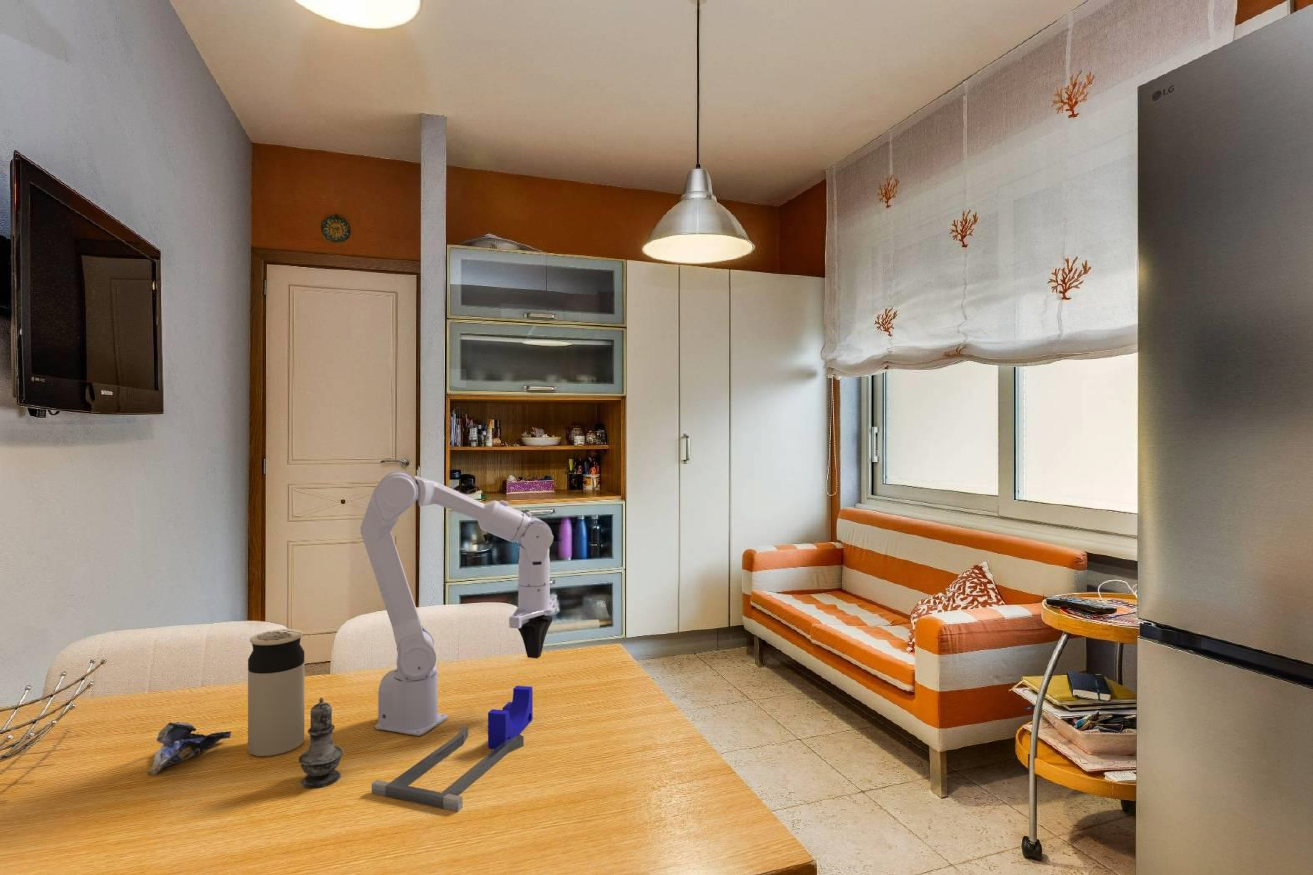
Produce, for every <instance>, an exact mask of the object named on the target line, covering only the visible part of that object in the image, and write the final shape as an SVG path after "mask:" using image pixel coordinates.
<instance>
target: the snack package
mask: <svg viewBox="0 0 1313 875" xmlns="http://www.w3.org/2000/svg"><path fill="white" fill-rule="evenodd" d="M166 724H167V725H165V726H164V727H163V728H162V729H161V730H160V731H159V732H158V734H157V738H156V742H158V743H159V744H163V745H162V746H160V749H158V750H157V751H156V754H155V756H154V758H153V764H152V765H151V766H150V769H149V770H148V771H147V773H148V774H151V775H152V774H153V775H156V774H159V772H160V771H161V770H162V769H164V768H167V767H170V766H172V765H175V764H177V763H180V762H182V761H184V760H188V759H190V758H193V757H195V756H198V755H201V754H202V753H204V752H205V751H207V750H208V749H209V748H210V747H212V746H213V745H215V744H216V743H218V742H219V741H220V740H223V739H230V738H231V736H232V731H219V732H213V733H210V734H207V735H205V734H204V733H203V734H202V733H201V734H200V733H199V732H198V731H197V728H196V727H194V725H193V724H191V723H188V722H179V721H177V722H168V723H166ZM196 731H197V732H196ZM192 732H196V733H192ZM161 763H162V764H161ZM156 767H157V768H156ZM153 768H154V769H153ZM155 768H156V769H155ZM153 775H152V776H153Z"/></svg>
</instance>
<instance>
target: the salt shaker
mask: <svg viewBox="0 0 1313 875" xmlns="http://www.w3.org/2000/svg"><path fill="white" fill-rule="evenodd" d="M324 700H325V699H323V697H320V698H319V699H318V702H317V703H316V704H315V705H313V706H312V707H311V709H310V727H309V728H308V729H307V734H309V746H308V750H307V751H305V752H303V753H301V755H299V758H298V762H299V763H300V767H301V770H302V772H303V773H305V774H306V775H305V776H304V777H303V778H302V780H300V785H301V786H302V788H305V789H311V790H312V789H314V790H315V789H321V788H327V787H329V786H331V785H333V784H335V783H337V782H338V781H339V780H340V779H341V778H342V774H341V772H340V771H339V770H337V768H338V766H339V765H340V762H341V759H342V756H343V754H344V749H343V748H342V747H340V746H338V745H334V742H333V730H334V729H335V727H336V726H335V725H334V724H332V723H333V719H332V718H333V716H332V715H333V707H332V705H331V704H330V703H328V702H325V701H324Z"/></svg>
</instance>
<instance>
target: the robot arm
mask: <svg viewBox="0 0 1313 875" xmlns="http://www.w3.org/2000/svg"><path fill="white" fill-rule="evenodd" d="M416 501H417V504H418V506H419V507H424V506H430V505H438V506H440V507H443V508H445V509H448V510H451V511H454V512H457V513H459V514H462V515H463V516H467V517H469V518H471V519H475V520H476V521H477V523H478V526H479V528H480V530H482V531H483V532H486V533H489V534H491V535H493V536H496V537H498V538H501V539H502V540H503V539H504V540H505V541H508V542H510V543H518V544H519V548H518V549H519V551H518V552H519V553H518V554H519V556H518V588H517V589H518V590H517V591H518V597H517V598H518V601H517V602H518V606H517V608H516V609H515V611H514V612H513V614H512V615H510V616H509V617H508V618H509V619H508V628H510V629H517V630H518V632H519V633H520V636H521V638H522V641H523V645H524V649H525V653H526V656H527V658H528V659H536V660H537V659H539V658H541V657H542V653H543V649H544V648H543V647H544V643H545V639H546V637H547V636H546V635H547V634H548V633H547V632H548V631H549V628H550V627H551V624H552V623H553V616H552V615H551V614H553V613H555V612H556V609H557V602H558V601H557V598H552V597H551V596H550V595H551V593H550V592H551V591H550V589H551V587H550V585H551V568H550V566H551V561H550V560H551V559H550V547H551V545H552V544H553V542H554V535H553V532H552V529H551V527H550V526H549V524H548V523H546V522H545V521H543V520H542V519H540V518H538V517H537V516H533V514H532V513H531V512H528V511H525V512H523V511H520V510H519V509H516V508H513V507H511V506H509V502H507V501H506V500H503V499H501V500H500V501H497V500H492V501H490V502H489V501H488V502H486V503H482V502H480V501H479V500H476V499H474V498H473V497H470V496H468V495H466V494H464V493H461V492H459V491H457V490H455V489H453V488H451V487H448V486H446V485H444V484H442V483H439V482H438V481H436V480H432V479H428V478H425V477H422V476H421V477H420V476H418V475H414V477H413V476H412V475H410V474H409V473H407V472H405V471H400V470H398V471H391V472H389V473H388V474H386V475H385V476H383V478H382V479H381V480H380V481H379V483H378V484H377V485H376V487H375V488H374V490H373V492H372V493H371V496H370V500H369V501H368V505H367V508H366V510H365V513H364V516H363V519H362V522H361V525H360V528H359V530H360V534H361V537H362V541H363V543H364V546H365V549H366V553H367V556H368V559H369V562H370V564H371V568H372V570H373V573H374V575H375V579H376V583H377V586H378V589H379V592H380V594H381V598H382V600H383V603H384V606H385V610H386V612H387V615H388V616H387V617H388V618H389V622H390V624H391V627H392V633H393V636H394V641H395V645H396V652H397V653H396V654H397V656H396V669H391V670H390V671H388V672H386V673H385V674H384V675H383V676H382V678H381V680H380V682H379V685H378V692H377V695H378V700H377V703H378V704H377V705H378V706H377V707H378V709H377V710H378V711H377V712H378V713H377V715H378V716H377V719H378V721H377V724H375V725H374V729H376V730H382V731H387V732H388V731H389V732H395V733H400V734H406V735H413V736H417V737H419V736H420V737H421V736H422V735H424V734H426V733H427V732H429V731H431V729H433V728H435V727H437V726H438V725H439V724H441V723H442V722H444V721H445V720H447V719H448V718H449V715H448V714H445V713H438V707H439V706H438V701H439V700H438V692H439V691H438V690H439V689H438V686H439V685H438V681H439V679H438V677H439V673H438V670H439V668H438V667H437V665H436V662H437V654H436V652H435V642H434V638H433V636H432V634H431V633H430V632H429V631H428V630H427V629H426V628H425V627H424V625H423V623H422V619H421V617H420V615H419V613H418V610H417V607H416V604H415V601H414V600H415V599H414V598H413V593H412V591H411V588H410V585H409V582H408V579H407V576H406V573H405V570H404V567H403V564H402V561H401V558H400V555H399V552H398V549H397V546H396V542H395V538H394V537H393V533H392V530H393V528H394V527H395V525H396V524H397V522H398V521H399V519H400V517H401V516H402V515H403V514H404V513H405V512H407V511H408V510H409V509H410V508H412V506H413V505H414V504H415V502H416ZM550 597H551V598H550ZM547 614H548V615H547Z"/></svg>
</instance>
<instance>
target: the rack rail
mask: <svg viewBox="0 0 1313 875" xmlns="http://www.w3.org/2000/svg"><path fill="white" fill-rule="evenodd" d="M468 737H469V726H461V728H460V729H459V731H458V733H457V734H456V735H454V736H453V738H450V739H449V740H448V741H446V742H445V743H444V744H442V745H440V746H439V747H438V748H437V749H435V750H434V751H433V752H431V753H430V754H428V755H426V756H425V757H424V758H423V759H421V760H419V762H417V763H415V764H414V765H412V766H411V767H410V768H408V769H407V770H405V772H403V773H401V774H400V775H398V776H397V777H396V778H394V779H393V780H392V781H385V780H380V779H376V780H374V781H373V782H371V794H372V795H375V796H381V797H385V798H389V799H390V798H391V799H396V800H400V801H406V802H410V803H413V804H419V805H424V806H429V807H434V808H438V809H439V808H440V809H444V810H449V811H453V812H459V811H461V810H462V809H463V807H464V805H463V801H464V799H463V798H464V797H463V796H462V795H461V794H463V792H465V791H466V790H467V789H468V788H469V787H470V786H471V785H473V784H474V783H475V782H476V781H477V780H478V779H480V778H481V777H482V776H483V775H484V774H485V773H487V772H488V771H489V770H490V769H491V768H492V767H494V766H495V765H496V764H497V763H498V762H499V761H501V760H502V759H503V758H504V757H505V756H507V755H508V754H509V753H511V752H514V751H516V750H517V749H520V748H522V747H524V744H525V742H524V738H525V736H524V735H521V734H520V735H518V736H516V737H513V738H511V739H509V740H507V741H504V742H503V743H502V744H500V745H499V746H498V747H497V748H495V749H492V750H491V751H490V752H489V753H488V754H486V756H485V757H483V758H482V759H481V760H480V761H478V762H477V763H476V764H474V766H472V767H471V768H470V769H469V770H467V771H466V772H465V773H463V774H462V775H461V776H460V777H459V778H457V779H456V780H455V781H454V782H452V783H451V784H449V786H448V787H447V788H445V789H444V790H443V791H442V792H441V791H436V790H432V789H431V790H429V789H427V788H426V789H425V788H421V787H415V786H410V784H412V783H414V782H415V781H416V780H417V779H419V778H420V777H421V776H423V775H424V774H425V773H427V772H428V771H429V770H430V769H432V768H434V767H435V766H436V765H437V764H439V763H441V762H442V761H443V760H444V759H446V758H447V757H448V756H449V755H451V754H452V753H454V752H455V751H457V750H458V749H460V747H462V746H463V745H464V744H465V742H466V740H467V738H468Z"/></svg>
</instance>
